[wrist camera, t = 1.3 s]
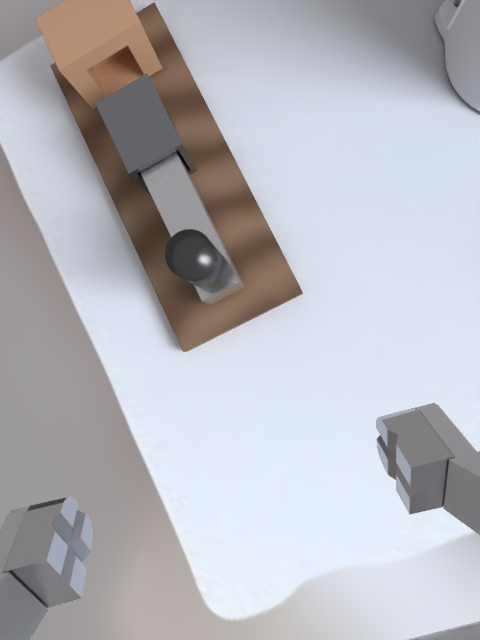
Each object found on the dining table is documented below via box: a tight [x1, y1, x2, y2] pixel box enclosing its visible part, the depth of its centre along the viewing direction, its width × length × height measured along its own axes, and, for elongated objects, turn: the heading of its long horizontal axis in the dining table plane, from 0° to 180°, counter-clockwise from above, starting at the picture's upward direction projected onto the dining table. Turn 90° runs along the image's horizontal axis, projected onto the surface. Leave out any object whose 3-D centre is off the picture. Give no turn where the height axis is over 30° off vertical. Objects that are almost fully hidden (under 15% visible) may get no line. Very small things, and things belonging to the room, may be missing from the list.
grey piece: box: [140, 150, 245, 305], centre depth 35 cm, size 21×4×12 cm, turn 26°
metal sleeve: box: [95, 73, 197, 195], centre depth 40 cm, size 8×6×6 cm
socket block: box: [35, 0, 162, 109], centre depth 41 cm, size 6×9×7 cm, turn 116°
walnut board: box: [51, 3, 303, 352], centre depth 43 cm, size 37×14×2 cm, turn 26°
